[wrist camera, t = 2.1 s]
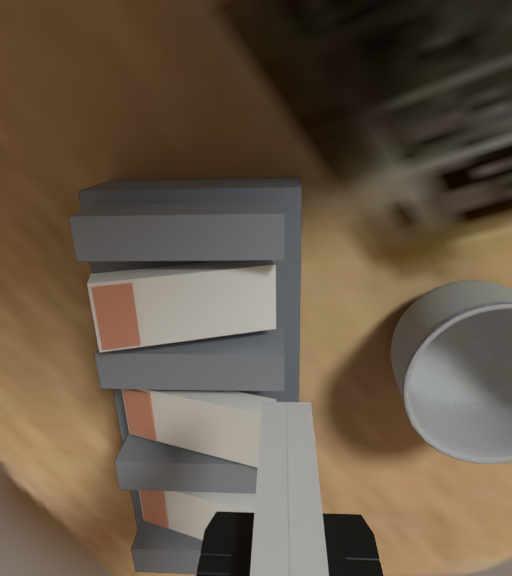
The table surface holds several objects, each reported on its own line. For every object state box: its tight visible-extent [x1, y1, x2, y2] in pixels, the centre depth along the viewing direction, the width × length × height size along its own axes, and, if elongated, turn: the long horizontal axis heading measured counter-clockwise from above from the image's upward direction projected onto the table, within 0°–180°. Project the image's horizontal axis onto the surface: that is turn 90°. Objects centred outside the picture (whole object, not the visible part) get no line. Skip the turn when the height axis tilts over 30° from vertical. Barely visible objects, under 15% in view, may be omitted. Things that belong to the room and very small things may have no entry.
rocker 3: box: [139, 490, 256, 540], centre depth 29 cm, size 4×10×2 cm, turn 92°
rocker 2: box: [122, 389, 276, 468], centre depth 27 cm, size 4×10×2 cm, turn 91°
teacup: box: [391, 280, 512, 464], centre depth 28 cm, size 14×11×8 cm
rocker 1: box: [87, 260, 276, 353], centre depth 24 cm, size 4×10×2 cm, turn 91°
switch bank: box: [69, 177, 302, 574], centre depth 30 cm, size 28×13×8 cm, turn 1°
